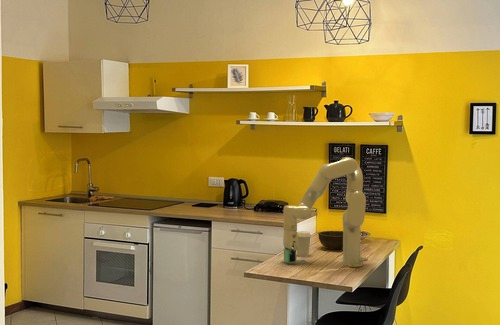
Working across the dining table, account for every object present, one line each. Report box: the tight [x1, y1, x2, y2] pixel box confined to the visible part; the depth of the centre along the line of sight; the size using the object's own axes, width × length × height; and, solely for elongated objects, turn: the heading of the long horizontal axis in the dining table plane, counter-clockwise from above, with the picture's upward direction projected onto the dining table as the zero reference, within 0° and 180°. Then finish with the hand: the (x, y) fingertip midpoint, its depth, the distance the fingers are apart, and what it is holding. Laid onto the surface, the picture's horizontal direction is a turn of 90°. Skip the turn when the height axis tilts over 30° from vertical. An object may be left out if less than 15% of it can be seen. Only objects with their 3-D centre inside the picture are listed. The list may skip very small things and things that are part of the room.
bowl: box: [317, 230, 343, 251], centre depth 371 cm, size 22×22×10 cm
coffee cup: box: [296, 230, 312, 258], centre depth 344 cm, size 10×10×15 cm
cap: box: [283, 248, 297, 263], centre depth 324 cm, size 5×5×7 cm
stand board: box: [282, 259, 312, 266], centre depth 325 cm, size 14×10×1 cm
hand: (290, 260), depth 324 cm, fingers closed on cap, 4 cm apart
